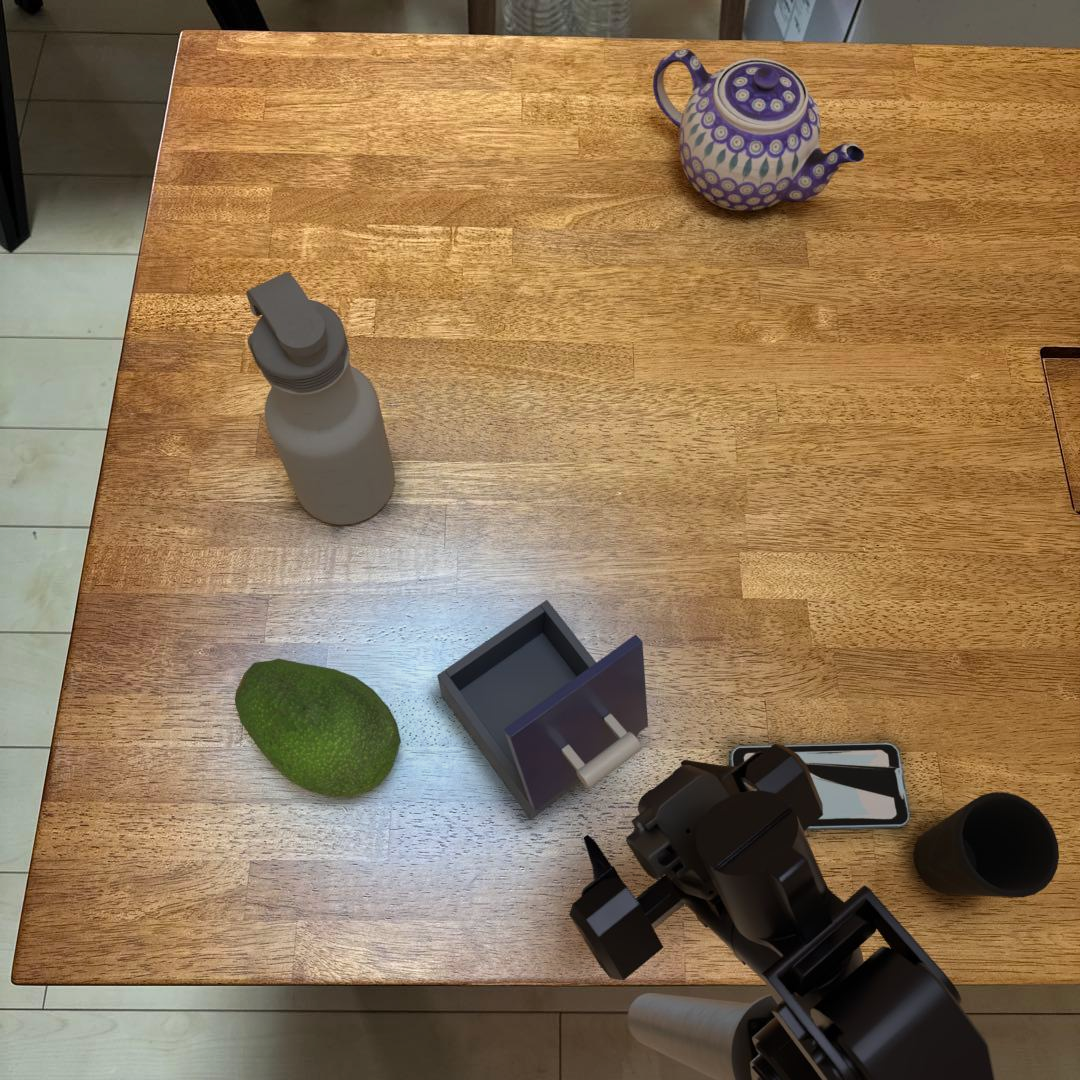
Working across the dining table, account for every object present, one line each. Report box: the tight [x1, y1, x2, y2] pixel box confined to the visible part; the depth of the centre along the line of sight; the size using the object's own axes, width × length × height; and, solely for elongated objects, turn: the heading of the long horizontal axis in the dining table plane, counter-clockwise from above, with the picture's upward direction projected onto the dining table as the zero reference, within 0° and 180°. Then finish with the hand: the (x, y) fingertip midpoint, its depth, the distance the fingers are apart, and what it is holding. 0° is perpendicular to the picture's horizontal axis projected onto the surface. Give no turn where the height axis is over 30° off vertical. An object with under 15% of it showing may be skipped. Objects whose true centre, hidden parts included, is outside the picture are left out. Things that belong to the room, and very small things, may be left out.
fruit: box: [234, 658, 402, 798], centre depth 86 cm, size 15×10×10 cm, turn 55°
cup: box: [912, 791, 1060, 898], centre depth 82 cm, size 8×8×12 cm
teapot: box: [652, 48, 865, 211], centre depth 110 cm, size 25×15×15 cm, turn 51°
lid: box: [504, 634, 649, 811], centre depth 76 cm, size 14×12×4 cm
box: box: [436, 599, 640, 821], centre depth 88 cm, size 14×12×7 cm
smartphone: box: [729, 741, 911, 831], centre depth 89 cm, size 7×1×15 cm
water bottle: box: [245, 271, 396, 526], centre depth 87 cm, size 10×10×28 cm
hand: (636, 802), depth 76 cm, fingers open, 9 cm apart
